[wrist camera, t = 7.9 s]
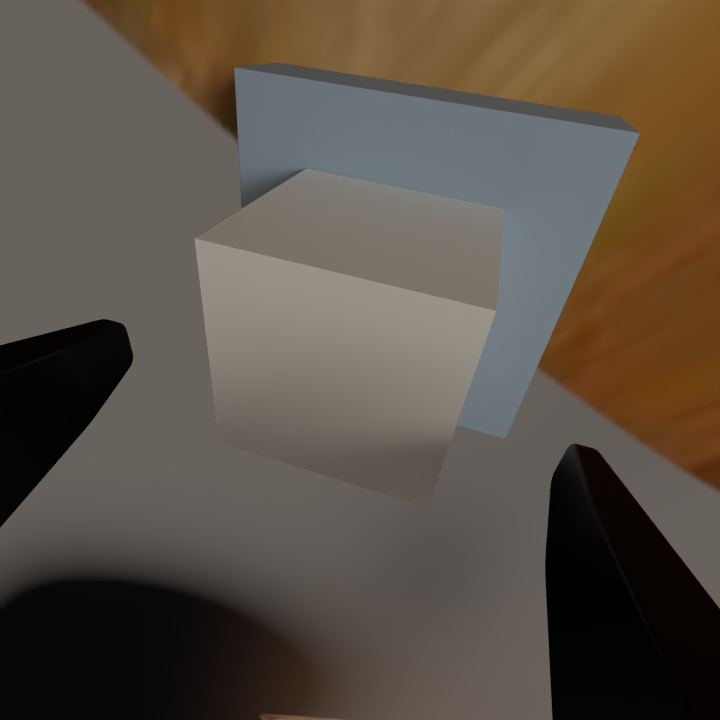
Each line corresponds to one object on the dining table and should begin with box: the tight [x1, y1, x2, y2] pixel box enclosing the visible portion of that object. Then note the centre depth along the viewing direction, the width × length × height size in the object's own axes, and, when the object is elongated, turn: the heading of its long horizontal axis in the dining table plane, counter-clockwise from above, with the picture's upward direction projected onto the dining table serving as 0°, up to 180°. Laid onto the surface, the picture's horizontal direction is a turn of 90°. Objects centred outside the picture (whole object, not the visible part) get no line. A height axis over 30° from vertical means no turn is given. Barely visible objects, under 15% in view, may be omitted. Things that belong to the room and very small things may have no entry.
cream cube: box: [195, 168, 505, 507], centre depth 11 cm, size 5×5×5 cm
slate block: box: [234, 63, 640, 439], centre depth 14 cm, size 9×9×3 cm
